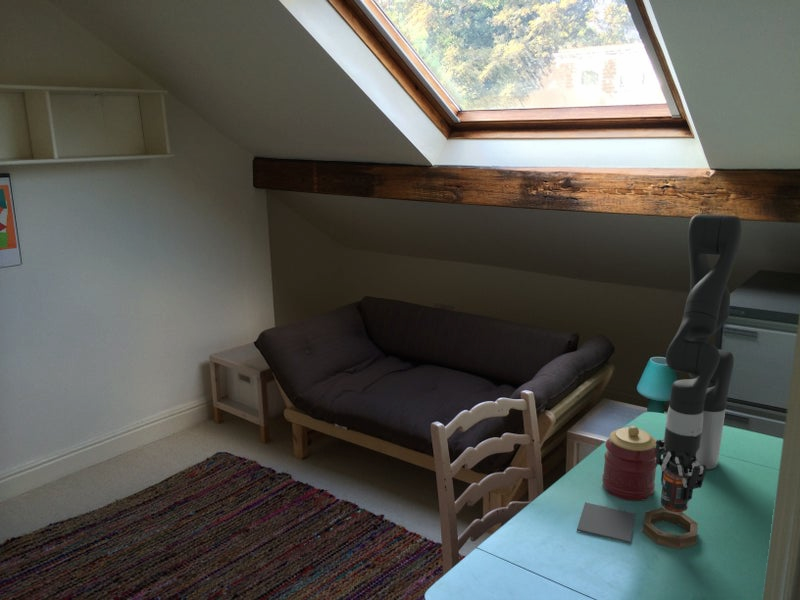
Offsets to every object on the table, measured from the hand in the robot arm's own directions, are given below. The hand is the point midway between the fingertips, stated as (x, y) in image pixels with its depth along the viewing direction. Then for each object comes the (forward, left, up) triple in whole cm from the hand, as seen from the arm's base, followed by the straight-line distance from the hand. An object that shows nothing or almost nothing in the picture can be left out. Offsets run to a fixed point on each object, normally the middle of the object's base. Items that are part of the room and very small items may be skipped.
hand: (675, 492), depth 159 cm
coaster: (+2, -14, -11) cm, 18 cm away
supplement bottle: (0, 0, -4) cm, 4 cm away
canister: (-16, -11, -11) cm, 22 cm away
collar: (0, 0, -11) cm, 11 cm away
